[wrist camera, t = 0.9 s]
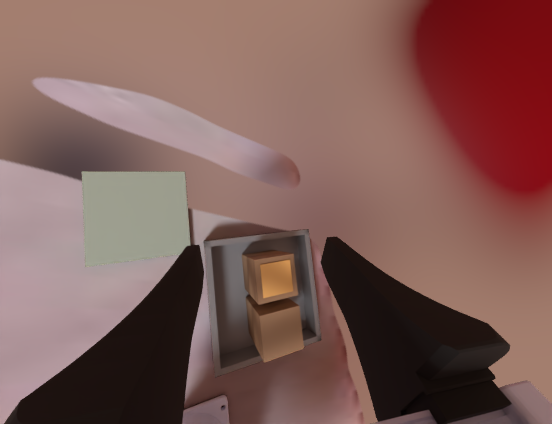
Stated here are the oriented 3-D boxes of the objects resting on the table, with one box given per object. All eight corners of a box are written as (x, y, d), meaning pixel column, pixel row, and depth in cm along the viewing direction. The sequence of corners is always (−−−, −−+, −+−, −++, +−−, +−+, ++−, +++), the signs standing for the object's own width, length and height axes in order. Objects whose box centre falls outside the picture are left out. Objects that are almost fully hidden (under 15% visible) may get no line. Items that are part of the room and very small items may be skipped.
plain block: (280, 323, 25) (304, 348, 19) (248, 332, 24) (264, 362, 18) (277, 290, 25) (299, 305, 20) (245, 297, 24) (259, 316, 18)
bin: (310, 330, 26) (321, 340, 24) (213, 362, 22) (215, 377, 20) (299, 229, 27) (308, 229, 25) (203, 241, 23) (204, 241, 21)
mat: (191, 252, 22) (190, 253, 22) (88, 266, 19) (85, 267, 19) (185, 173, 23) (184, 171, 23) (85, 173, 20) (81, 171, 19)
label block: (276, 282, 25) (298, 295, 20) (244, 288, 24) (258, 305, 18) (272, 249, 26) (293, 253, 20) (241, 254, 24) (254, 260, 18)
